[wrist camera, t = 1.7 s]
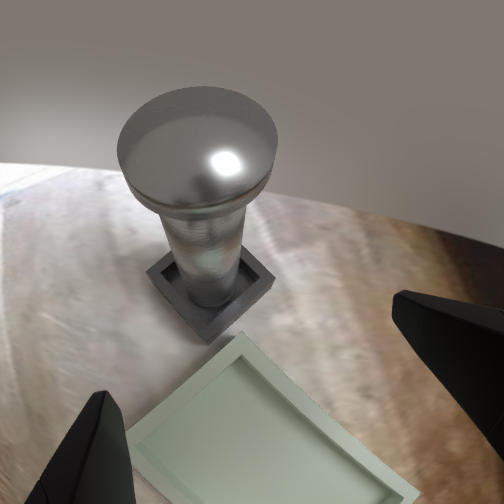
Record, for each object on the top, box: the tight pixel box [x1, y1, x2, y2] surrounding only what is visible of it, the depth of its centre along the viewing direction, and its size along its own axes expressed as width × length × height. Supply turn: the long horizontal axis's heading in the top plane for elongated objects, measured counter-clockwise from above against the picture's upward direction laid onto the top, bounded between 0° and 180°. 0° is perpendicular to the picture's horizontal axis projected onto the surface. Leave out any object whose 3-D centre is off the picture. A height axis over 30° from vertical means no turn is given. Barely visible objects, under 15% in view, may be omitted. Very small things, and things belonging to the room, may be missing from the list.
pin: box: [117, 86, 278, 307], centre depth 15 cm, size 5×5×14 cm
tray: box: [125, 331, 420, 504], centre depth 16 cm, size 11×18×2 cm, turn 44°
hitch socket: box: [146, 244, 276, 345], centre depth 21 cm, size 6×6×2 cm
